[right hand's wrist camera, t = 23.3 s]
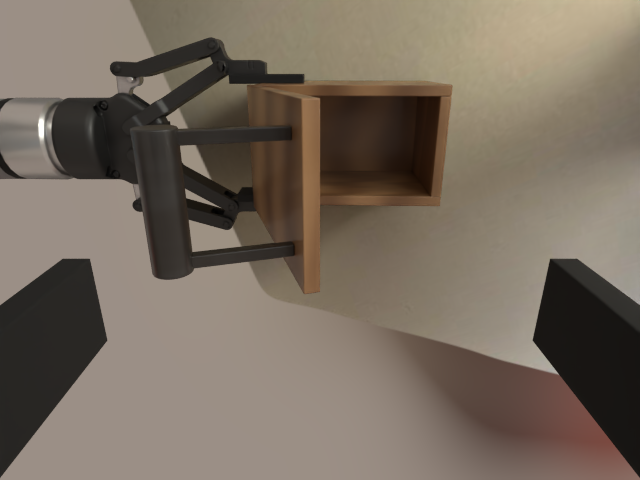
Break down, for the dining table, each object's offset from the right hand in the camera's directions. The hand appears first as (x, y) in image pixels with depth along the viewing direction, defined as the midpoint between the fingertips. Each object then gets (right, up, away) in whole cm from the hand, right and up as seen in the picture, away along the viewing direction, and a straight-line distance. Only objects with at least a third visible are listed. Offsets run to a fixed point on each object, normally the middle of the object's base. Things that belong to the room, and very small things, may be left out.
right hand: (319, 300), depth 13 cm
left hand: (-2, +11, +29) cm, 31 cm away
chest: (+3, +14, +34) cm, 37 cm away
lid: (-2, +7, +17) cm, 18 cm away
